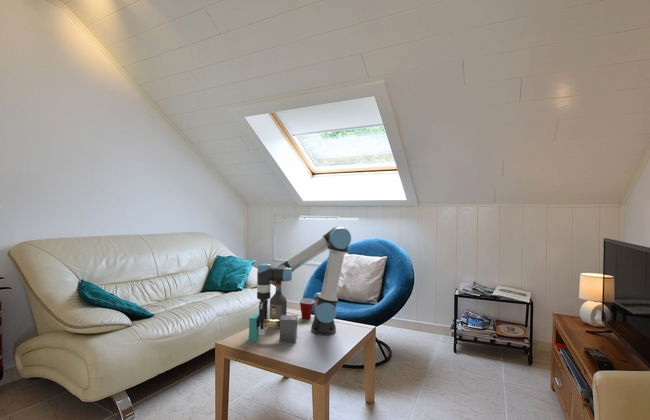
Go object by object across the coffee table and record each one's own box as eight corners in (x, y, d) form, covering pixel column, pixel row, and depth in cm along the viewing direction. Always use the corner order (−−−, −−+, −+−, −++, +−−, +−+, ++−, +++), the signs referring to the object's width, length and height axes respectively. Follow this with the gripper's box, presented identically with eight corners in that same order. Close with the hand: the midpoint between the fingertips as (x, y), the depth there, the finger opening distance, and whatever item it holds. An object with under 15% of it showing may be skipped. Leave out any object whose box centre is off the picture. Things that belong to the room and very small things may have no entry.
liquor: (276, 322, 223) (276, 276, 223) (287, 324, 219) (288, 277, 219) (267, 326, 215) (268, 278, 215) (279, 329, 211) (280, 280, 211)
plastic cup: (308, 321, 226) (308, 303, 226) (295, 318, 232) (295, 300, 232) (317, 317, 235) (318, 299, 235) (304, 314, 241) (305, 297, 241)
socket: (259, 336, 198) (259, 313, 198) (256, 341, 190) (256, 318, 190) (252, 336, 198) (252, 313, 198) (248, 341, 190) (249, 318, 190)
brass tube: (284, 326, 196) (284, 318, 196) (283, 329, 192) (283, 320, 192) (254, 325, 196) (254, 317, 196) (252, 328, 192) (252, 320, 192)
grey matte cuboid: (297, 337, 198) (297, 315, 198) (295, 342, 190) (296, 319, 190) (281, 336, 198) (281, 314, 198) (279, 342, 190) (279, 319, 190)
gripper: (260, 287, 203) (259, 327, 203) (253, 295, 185) (252, 338, 185) (272, 288, 203) (272, 327, 203) (267, 295, 185) (266, 338, 185)
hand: (263, 332), depth 194 cm, fingers closed on brass tube, 5 cm apart
